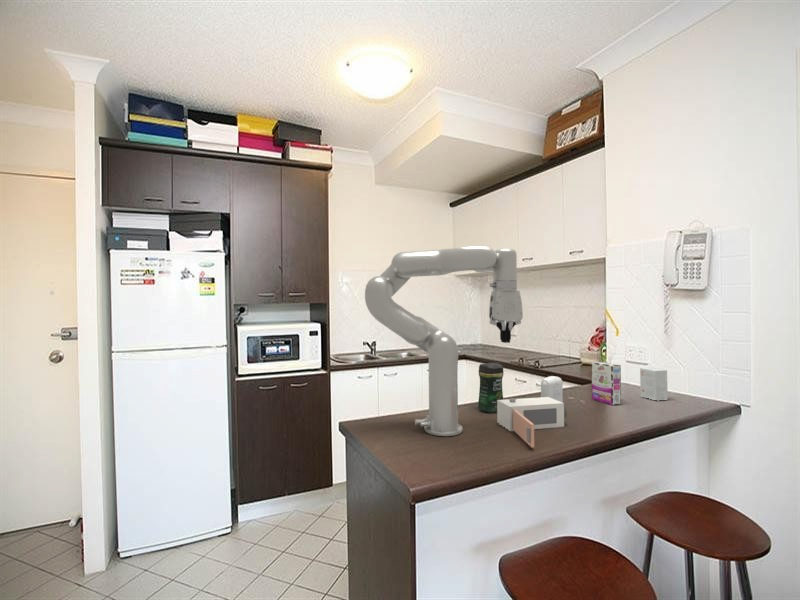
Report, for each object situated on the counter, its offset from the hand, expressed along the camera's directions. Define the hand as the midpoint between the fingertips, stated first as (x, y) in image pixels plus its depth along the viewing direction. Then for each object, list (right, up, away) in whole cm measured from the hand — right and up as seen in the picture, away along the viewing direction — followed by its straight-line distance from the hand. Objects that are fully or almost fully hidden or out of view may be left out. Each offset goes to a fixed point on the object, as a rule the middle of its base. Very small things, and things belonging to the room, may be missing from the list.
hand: (505, 342), depth 126 cm
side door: (+2, -28, -9) cm, 30 cm away
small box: (+76, -30, +41) cm, 92 cm away
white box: (+11, -29, +6) cm, 32 cm away
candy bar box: (+53, -30, +36) cm, 70 cm away
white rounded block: (+27, -30, +29) cm, 49 cm away
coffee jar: (+1, -30, +24) cm, 38 cm away
